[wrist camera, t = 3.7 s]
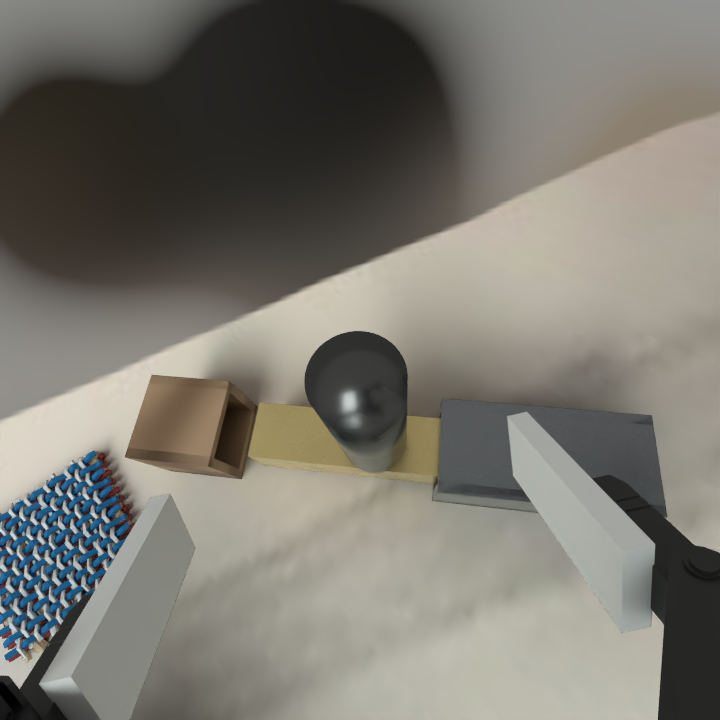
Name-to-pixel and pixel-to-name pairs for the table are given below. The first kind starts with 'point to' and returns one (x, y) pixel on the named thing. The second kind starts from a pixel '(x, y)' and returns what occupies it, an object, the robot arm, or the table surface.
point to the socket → (193, 427)
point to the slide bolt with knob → (351, 417)
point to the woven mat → (57, 551)
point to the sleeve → (566, 426)
